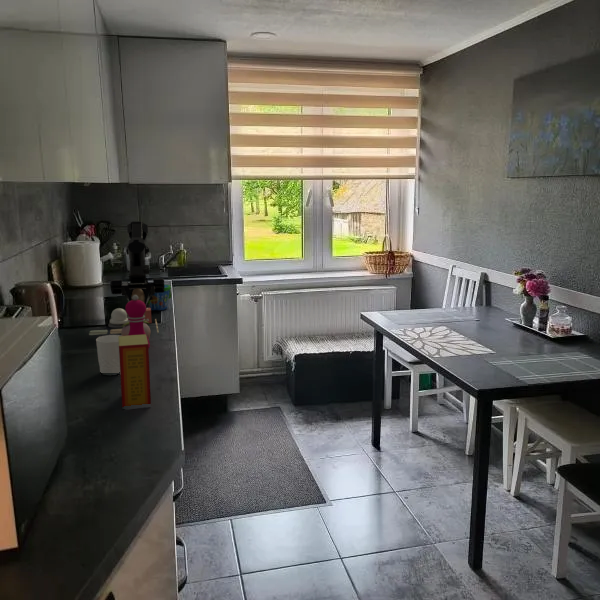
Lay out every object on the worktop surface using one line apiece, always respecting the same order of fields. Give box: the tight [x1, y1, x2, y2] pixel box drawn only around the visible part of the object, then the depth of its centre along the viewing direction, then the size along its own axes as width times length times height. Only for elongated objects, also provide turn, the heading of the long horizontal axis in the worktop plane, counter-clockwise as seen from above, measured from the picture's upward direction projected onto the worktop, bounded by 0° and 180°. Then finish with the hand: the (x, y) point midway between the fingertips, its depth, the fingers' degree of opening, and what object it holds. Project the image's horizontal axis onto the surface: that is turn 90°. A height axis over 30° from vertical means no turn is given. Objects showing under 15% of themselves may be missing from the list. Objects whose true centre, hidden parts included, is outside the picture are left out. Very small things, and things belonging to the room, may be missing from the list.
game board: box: [88, 318, 160, 336], centre depth 199 cm, size 20×25×2 cm
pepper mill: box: [124, 295, 151, 349], centre depth 163 cm, size 7×7×20 cm
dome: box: [109, 307, 129, 324], centre depth 201 cm, size 7×7×6 cm
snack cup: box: [148, 284, 172, 311], centre depth 234 cm, size 16×11×10 cm
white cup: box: [95, 334, 122, 373], centre depth 152 cm, size 8×8×10 cm
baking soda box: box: [118, 334, 152, 408], centre depth 131 cm, size 10×6×16 cm
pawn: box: [131, 288, 147, 321], centre depth 193 cm, size 5×5×12 cm
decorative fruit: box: [120, 321, 151, 339], centre depth 175 cm, size 9×8×10 cm
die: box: [145, 307, 153, 324], centre depth 206 cm, size 5×5×5 cm
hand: (138, 305), depth 192 cm, fingers closed on pawn, 4 cm apart
